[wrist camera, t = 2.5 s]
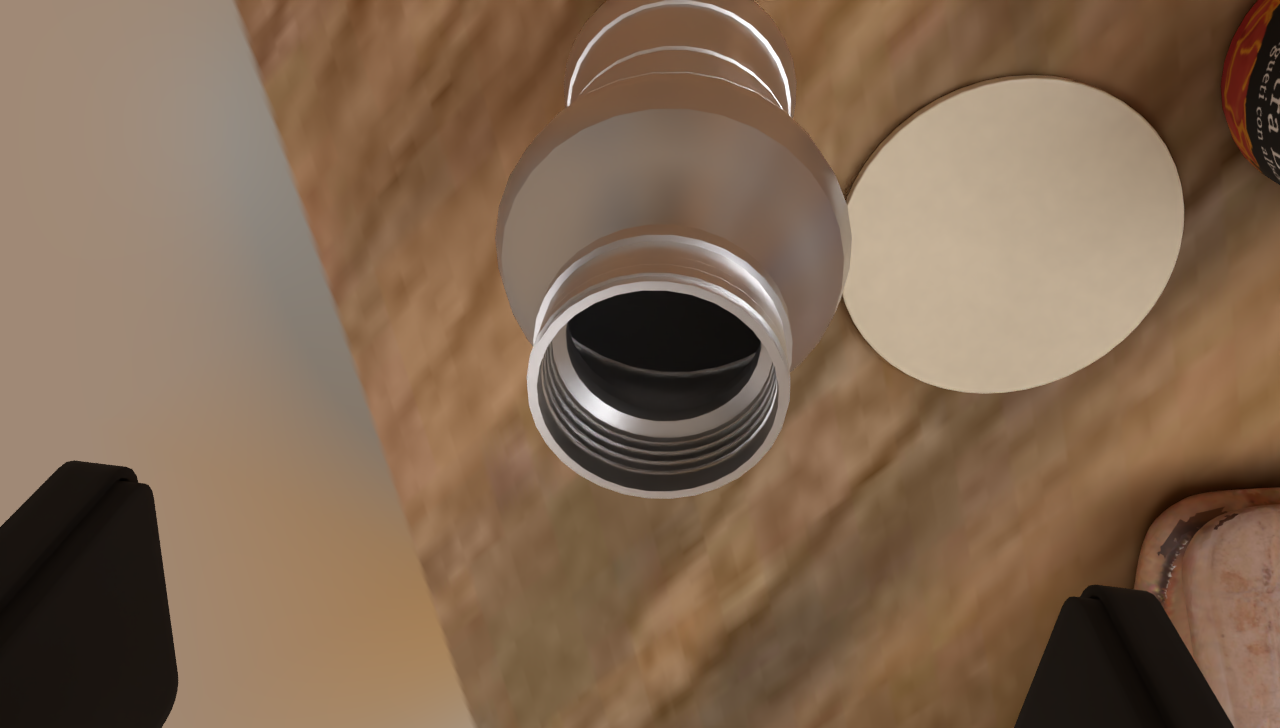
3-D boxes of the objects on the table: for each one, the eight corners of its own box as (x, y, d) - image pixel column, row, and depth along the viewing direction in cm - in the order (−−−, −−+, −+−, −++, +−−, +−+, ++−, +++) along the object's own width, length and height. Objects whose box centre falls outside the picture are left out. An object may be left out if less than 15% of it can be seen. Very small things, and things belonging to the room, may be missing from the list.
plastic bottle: (577, -46, 30) (405, 149, 13) (805, -27, 30) (946, 197, 13) (569, 164, 33) (421, 555, 16) (776, 182, 33) (857, 595, 16)
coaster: (875, 53, 31) (878, 56, 31) (1232, 98, 31) (1239, 102, 31) (807, 366, 37) (808, 373, 36) (1113, 405, 37) (1118, 412, 36)
